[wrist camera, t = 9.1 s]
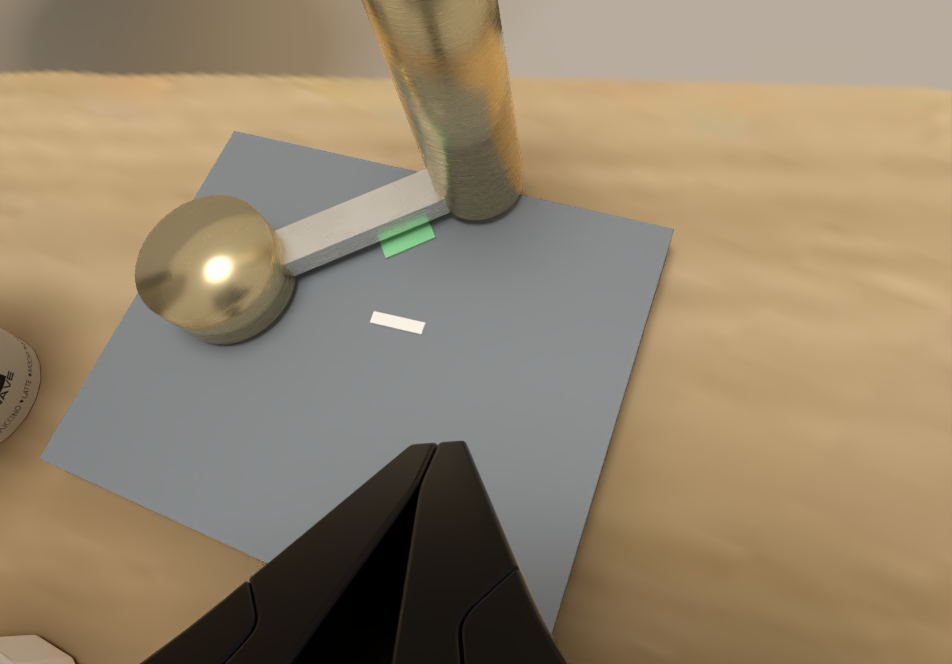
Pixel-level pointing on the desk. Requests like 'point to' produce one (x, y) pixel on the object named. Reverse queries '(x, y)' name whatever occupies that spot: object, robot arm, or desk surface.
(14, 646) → the white cup
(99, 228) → the desk surface
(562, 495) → the gray board
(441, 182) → the brass crank handle
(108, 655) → the desk surface
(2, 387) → the coffee cup
